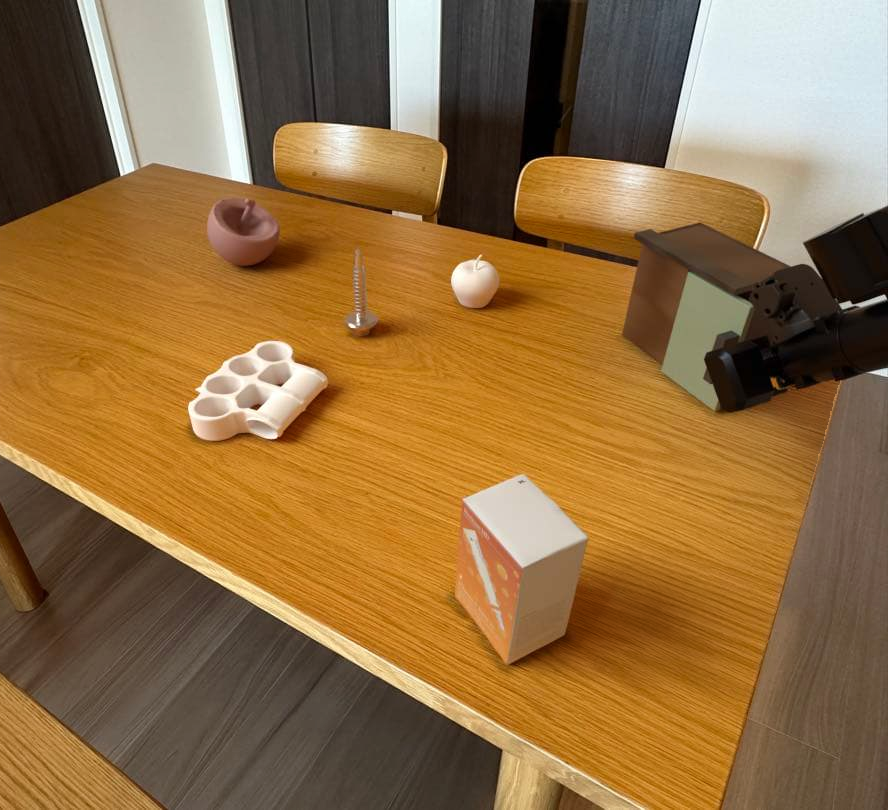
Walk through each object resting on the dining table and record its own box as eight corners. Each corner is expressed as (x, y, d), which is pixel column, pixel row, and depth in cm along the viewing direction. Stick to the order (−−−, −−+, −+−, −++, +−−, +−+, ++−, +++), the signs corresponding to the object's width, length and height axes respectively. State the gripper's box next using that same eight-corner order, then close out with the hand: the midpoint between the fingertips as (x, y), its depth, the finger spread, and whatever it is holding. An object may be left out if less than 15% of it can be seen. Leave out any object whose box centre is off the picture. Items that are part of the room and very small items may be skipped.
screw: (359, 319, 103) (385, 329, 100) (338, 334, 100) (364, 344, 97) (354, 238, 95) (383, 246, 92) (332, 251, 92) (360, 260, 89)
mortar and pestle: (266, 281, 114) (257, 215, 107) (201, 274, 117) (188, 209, 110) (293, 249, 123) (286, 186, 116) (232, 244, 126) (221, 182, 119)
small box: (453, 597, 64) (459, 497, 55) (509, 570, 66) (524, 470, 57) (506, 668, 58) (522, 568, 50) (567, 636, 60) (592, 535, 52)
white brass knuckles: (264, 462, 79) (166, 426, 85) (341, 378, 91) (251, 352, 97) (260, 439, 77) (160, 405, 83) (340, 357, 89) (247, 332, 95)
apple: (479, 319, 101) (483, 269, 96) (440, 304, 105) (442, 255, 100) (506, 300, 105) (511, 252, 100) (468, 286, 109) (471, 239, 104)
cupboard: (765, 383, 86) (810, 267, 76) (697, 406, 83) (736, 289, 73) (672, 323, 98) (701, 216, 88) (611, 340, 95) (634, 232, 85)
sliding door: (719, 409, 82) (756, 305, 73) (700, 416, 81) (735, 311, 72) (665, 369, 88) (693, 270, 80) (647, 375, 87) (673, 275, 79)
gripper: (907, 233, 64) (771, 287, 79) (750, 277, 59) (637, 325, 74) (951, 347, 63) (805, 379, 78) (796, 400, 58) (671, 424, 74)
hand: (731, 374), depth 76 cm, fingers closed
